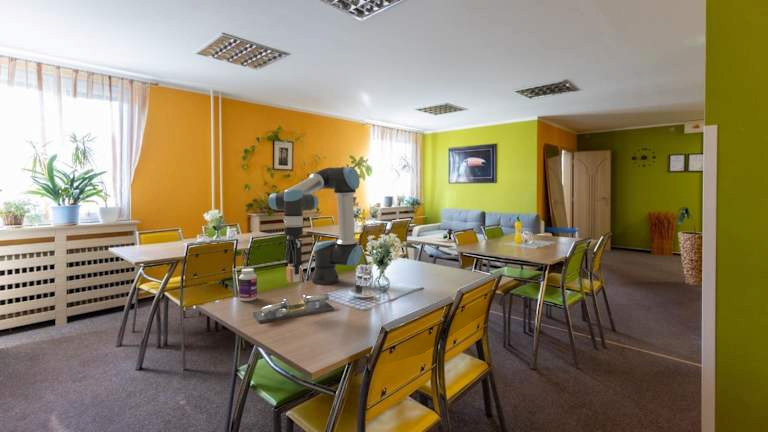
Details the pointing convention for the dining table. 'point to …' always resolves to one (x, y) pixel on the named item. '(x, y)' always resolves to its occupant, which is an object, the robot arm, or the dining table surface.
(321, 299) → the shaft
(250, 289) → the pill bottle
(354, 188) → the robot arm
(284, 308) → the shaft
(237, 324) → the dining table surface
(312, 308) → the board
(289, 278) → the block
